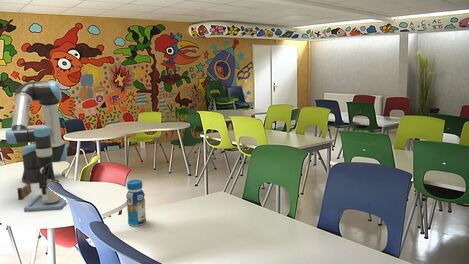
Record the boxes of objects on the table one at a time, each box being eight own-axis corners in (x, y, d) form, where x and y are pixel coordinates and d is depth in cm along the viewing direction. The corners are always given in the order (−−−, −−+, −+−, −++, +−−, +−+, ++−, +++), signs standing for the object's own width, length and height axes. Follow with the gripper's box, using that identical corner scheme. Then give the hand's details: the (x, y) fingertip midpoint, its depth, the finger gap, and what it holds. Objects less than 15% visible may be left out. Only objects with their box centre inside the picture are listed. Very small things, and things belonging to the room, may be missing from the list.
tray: (38, 198, 220) (38, 195, 220) (72, 196, 222) (72, 193, 222) (24, 211, 200) (23, 208, 200) (61, 209, 202) (61, 206, 202)
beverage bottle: (126, 221, 186) (124, 180, 182) (145, 218, 189) (142, 177, 185) (128, 228, 178) (125, 185, 174) (147, 225, 181) (145, 182, 177)
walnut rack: (28, 191, 233) (27, 181, 231) (59, 190, 234) (58, 179, 233) (18, 199, 219) (17, 188, 218) (51, 198, 221) (50, 186, 220)
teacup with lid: (64, 199, 212) (62, 178, 210) (47, 204, 205) (45, 183, 203) (51, 195, 219) (49, 175, 217) (35, 200, 212) (33, 179, 210)
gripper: (44, 151, 217) (48, 190, 221) (28, 161, 196) (33, 204, 199) (58, 150, 218) (62, 190, 222) (44, 160, 196) (49, 203, 200)
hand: (48, 197), depth 210 cm, fingers closed on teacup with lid, 9 cm apart
